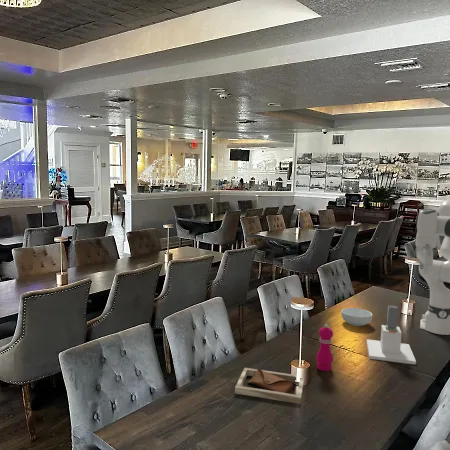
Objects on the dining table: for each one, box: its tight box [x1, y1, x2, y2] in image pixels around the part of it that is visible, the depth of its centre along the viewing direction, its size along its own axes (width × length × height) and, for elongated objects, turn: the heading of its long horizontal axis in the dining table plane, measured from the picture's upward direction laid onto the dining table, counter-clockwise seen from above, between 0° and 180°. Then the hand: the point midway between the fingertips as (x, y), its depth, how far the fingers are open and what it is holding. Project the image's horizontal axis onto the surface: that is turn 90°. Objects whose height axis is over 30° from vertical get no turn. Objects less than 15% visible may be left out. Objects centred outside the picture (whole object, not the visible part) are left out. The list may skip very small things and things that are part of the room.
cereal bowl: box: [340, 307, 373, 327], centre depth 237 cm, size 17×17×7 cm
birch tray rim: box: [234, 367, 305, 405], centre depth 164 cm, size 17×25×2 cm
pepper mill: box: [315, 323, 334, 372], centre depth 181 cm, size 7×7×20 cm
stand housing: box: [365, 324, 417, 365], centre depth 198 cm, size 20×20×12 cm
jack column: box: [386, 304, 399, 331], centre depth 197 cm, size 4×4×16 cm
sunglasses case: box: [247, 368, 296, 394], centre depth 164 cm, size 18×7×7 cm, turn 51°
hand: (423, 271), depth 200 cm, fingers open, 8 cm apart
